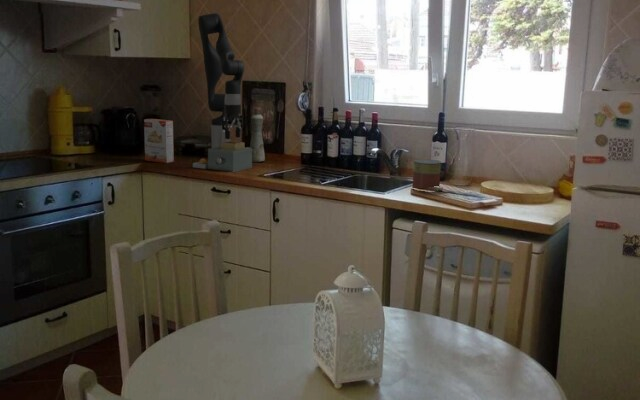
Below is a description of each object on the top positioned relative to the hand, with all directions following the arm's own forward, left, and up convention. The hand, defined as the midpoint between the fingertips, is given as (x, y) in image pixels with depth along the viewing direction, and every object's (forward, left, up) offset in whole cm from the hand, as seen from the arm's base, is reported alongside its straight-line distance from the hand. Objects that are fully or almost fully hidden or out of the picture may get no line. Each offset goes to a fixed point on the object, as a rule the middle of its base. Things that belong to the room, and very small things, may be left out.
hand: (232, 138), depth 312 cm
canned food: (-2, +95, -15) cm, 96 cm away
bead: (+7, -12, -14) cm, 20 cm away
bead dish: (+7, -12, -15) cm, 20 cm away
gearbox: (+2, 0, -15) cm, 15 cm away
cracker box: (+3, -42, -15) cm, 45 cm away
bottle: (-26, -3, -15) cm, 30 cm away
